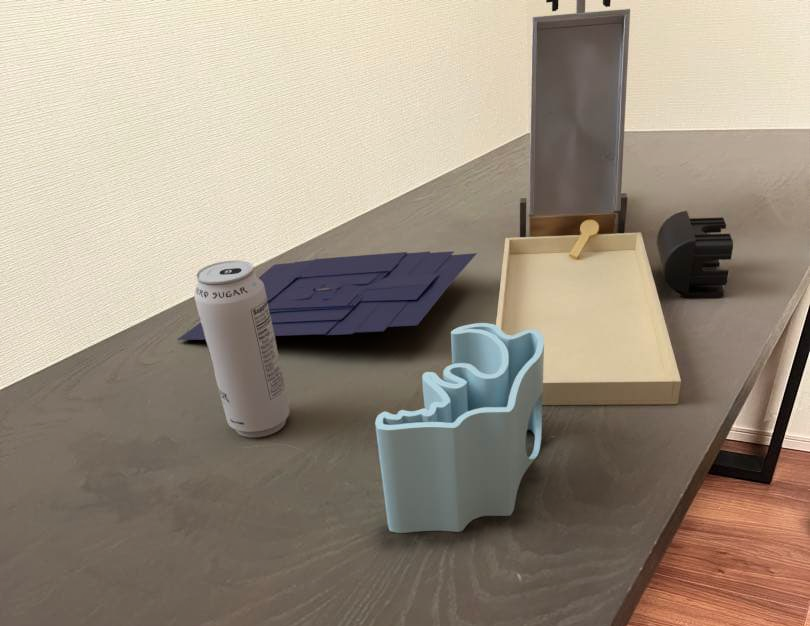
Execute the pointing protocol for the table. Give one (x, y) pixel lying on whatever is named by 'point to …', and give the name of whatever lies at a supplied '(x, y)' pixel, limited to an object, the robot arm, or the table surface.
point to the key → (584, 237)
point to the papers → (354, 292)
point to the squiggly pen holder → (465, 433)
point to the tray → (590, 319)
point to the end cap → (694, 255)
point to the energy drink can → (242, 347)
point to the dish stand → (571, 222)
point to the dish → (578, 112)
